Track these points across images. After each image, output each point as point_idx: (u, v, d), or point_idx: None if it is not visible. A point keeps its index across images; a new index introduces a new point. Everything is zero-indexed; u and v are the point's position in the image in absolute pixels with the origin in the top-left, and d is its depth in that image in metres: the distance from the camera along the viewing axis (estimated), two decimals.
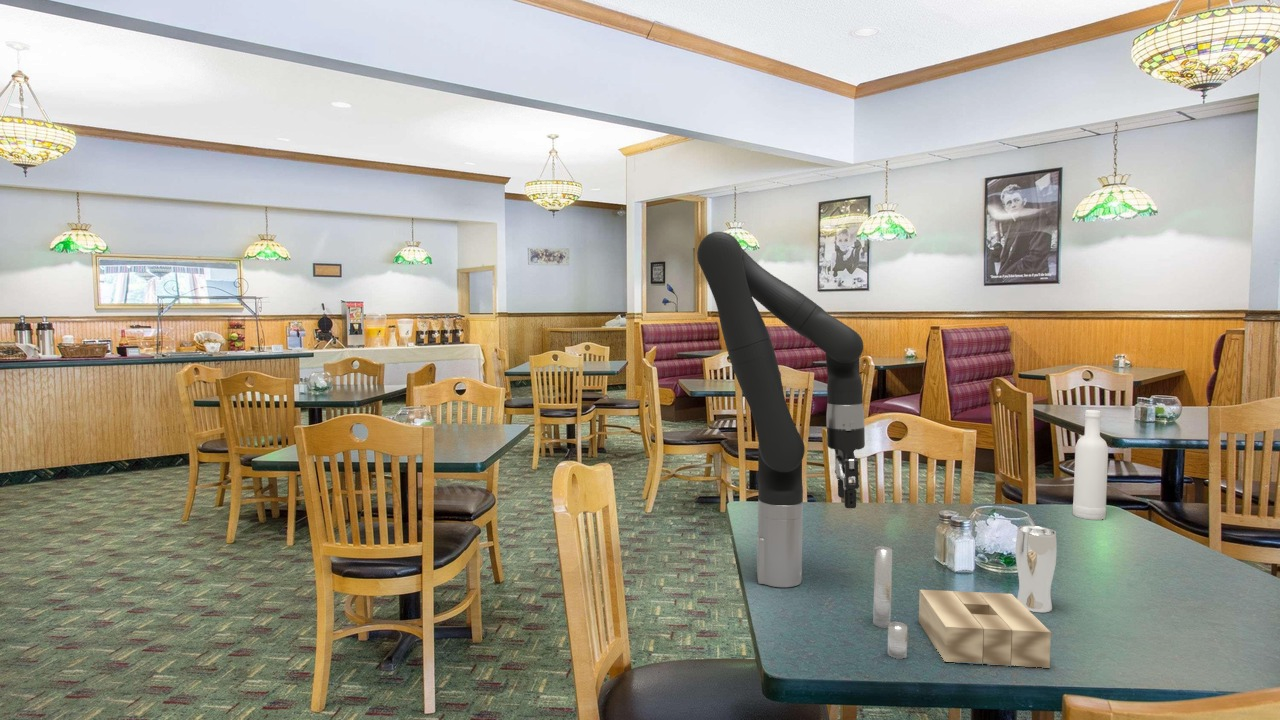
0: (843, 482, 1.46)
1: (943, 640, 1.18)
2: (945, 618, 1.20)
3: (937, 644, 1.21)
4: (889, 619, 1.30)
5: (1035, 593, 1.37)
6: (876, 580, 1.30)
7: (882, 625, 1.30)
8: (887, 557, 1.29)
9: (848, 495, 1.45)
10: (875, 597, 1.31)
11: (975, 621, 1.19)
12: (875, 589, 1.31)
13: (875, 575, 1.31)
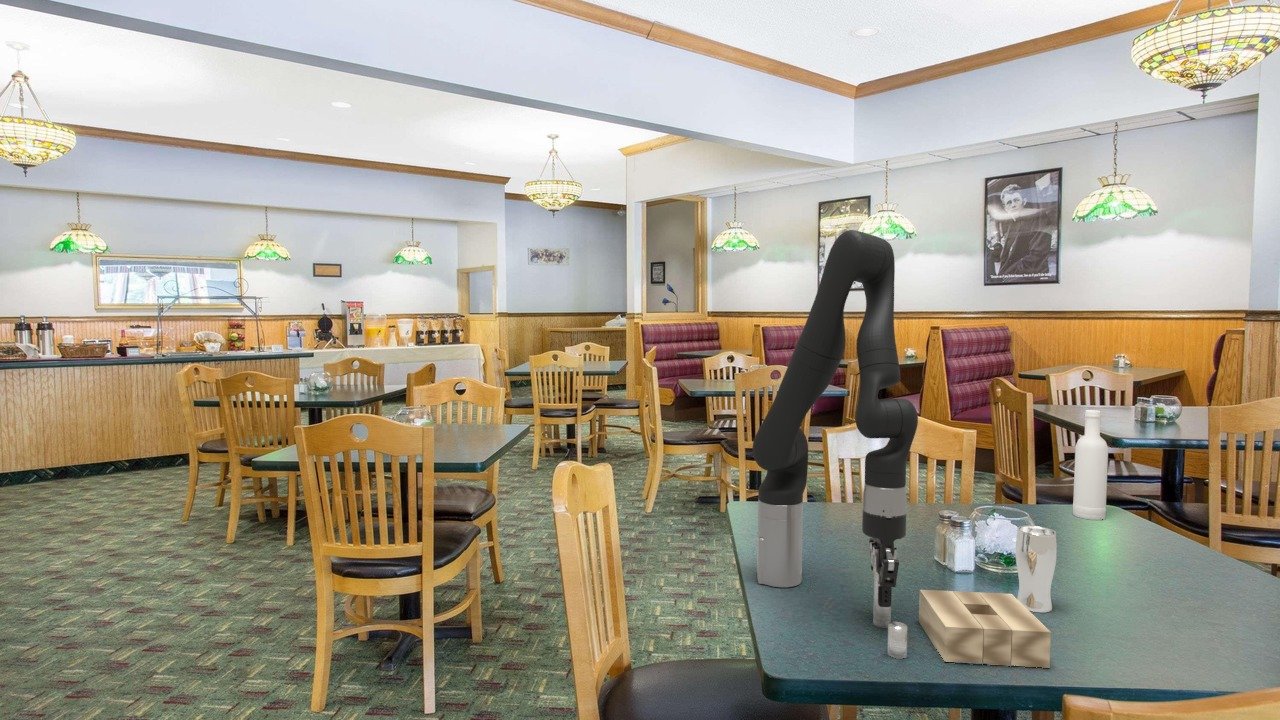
0: (878, 576, 1.29)
1: (943, 640, 1.18)
2: (945, 618, 1.20)
3: (937, 644, 1.21)
4: (889, 619, 1.30)
5: (1035, 593, 1.37)
6: (876, 580, 1.30)
7: (882, 625, 1.30)
8: None
9: (883, 593, 1.28)
10: (875, 597, 1.31)
11: (975, 621, 1.19)
12: (875, 589, 1.31)
13: (875, 575, 1.31)
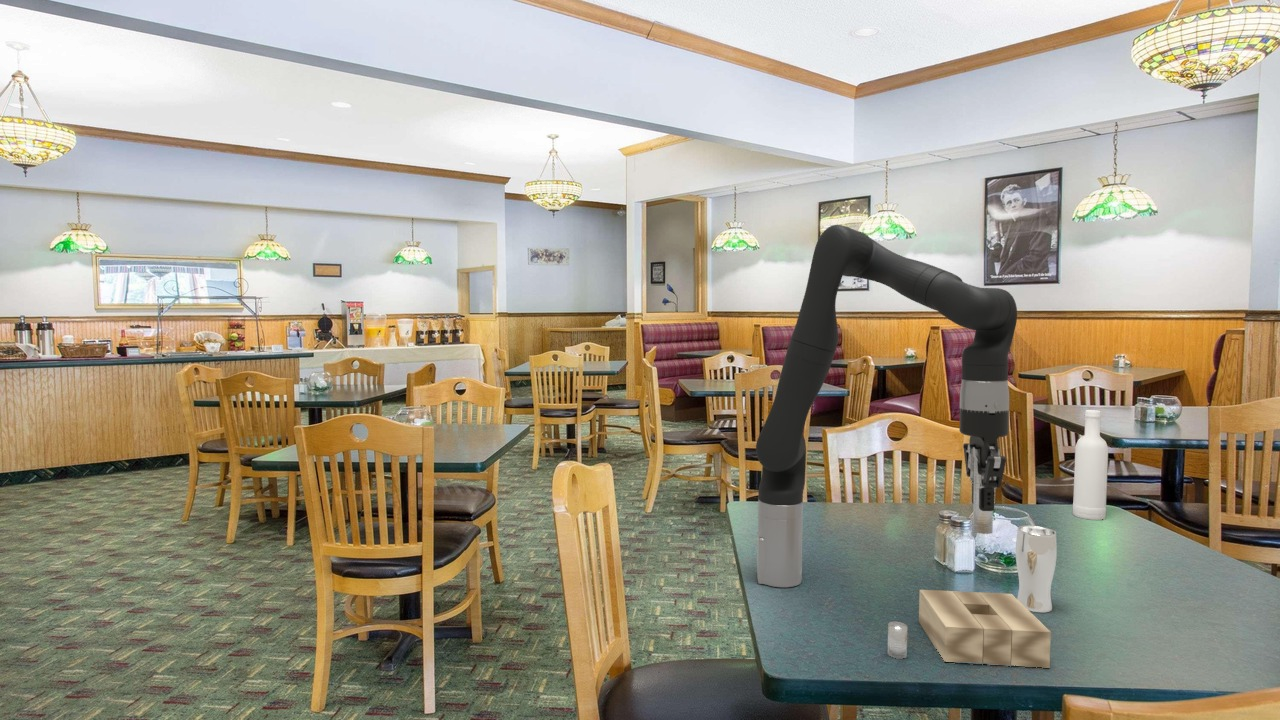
0: (979, 478, 1.21)
1: (943, 640, 1.18)
2: (945, 618, 1.20)
3: (937, 644, 1.21)
4: (991, 525, 1.22)
5: (1035, 593, 1.37)
6: (977, 483, 1.22)
7: (984, 531, 1.21)
8: None
9: (985, 495, 1.20)
10: (976, 502, 1.22)
11: (975, 621, 1.19)
12: (976, 493, 1.22)
13: (975, 478, 1.22)
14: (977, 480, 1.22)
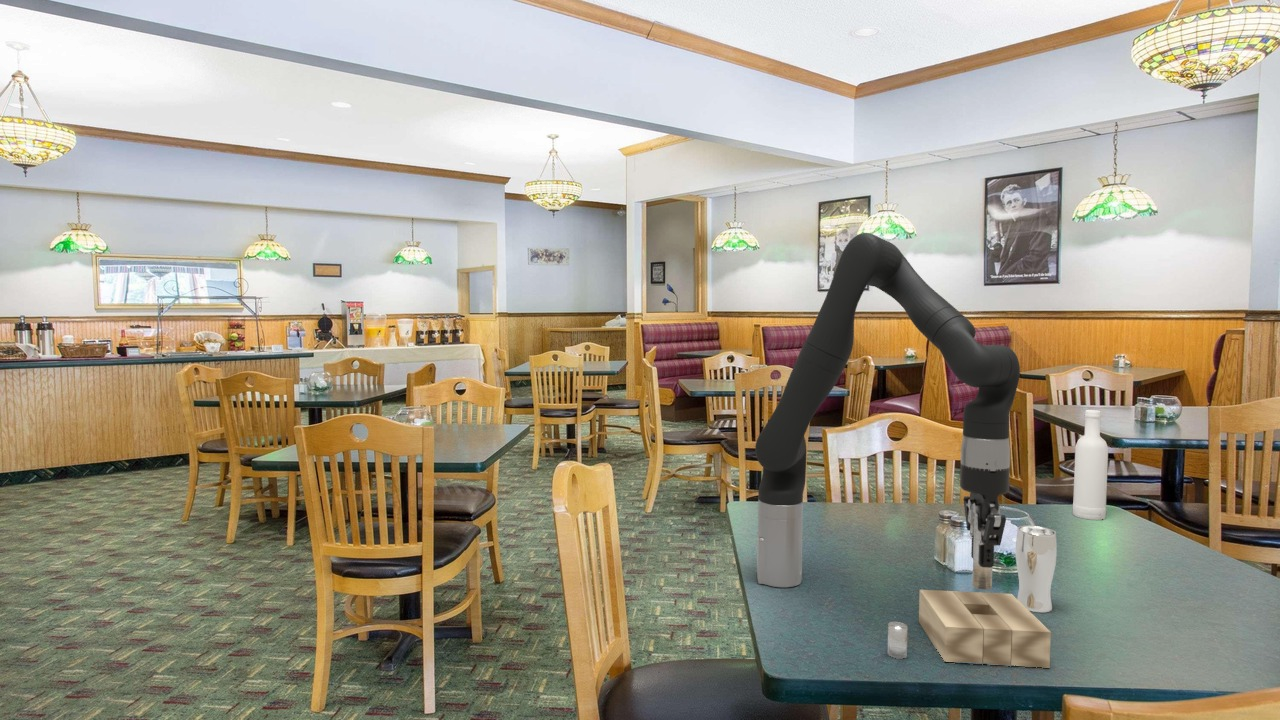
0: (979, 534, 1.21)
1: (943, 640, 1.18)
2: (945, 618, 1.20)
3: (937, 644, 1.21)
4: (991, 580, 1.22)
5: (1035, 593, 1.37)
6: (977, 539, 1.22)
7: (984, 587, 1.22)
8: None
9: (985, 552, 1.20)
10: (975, 557, 1.23)
11: (975, 621, 1.19)
12: (975, 549, 1.23)
13: (975, 534, 1.23)
14: (977, 536, 1.22)
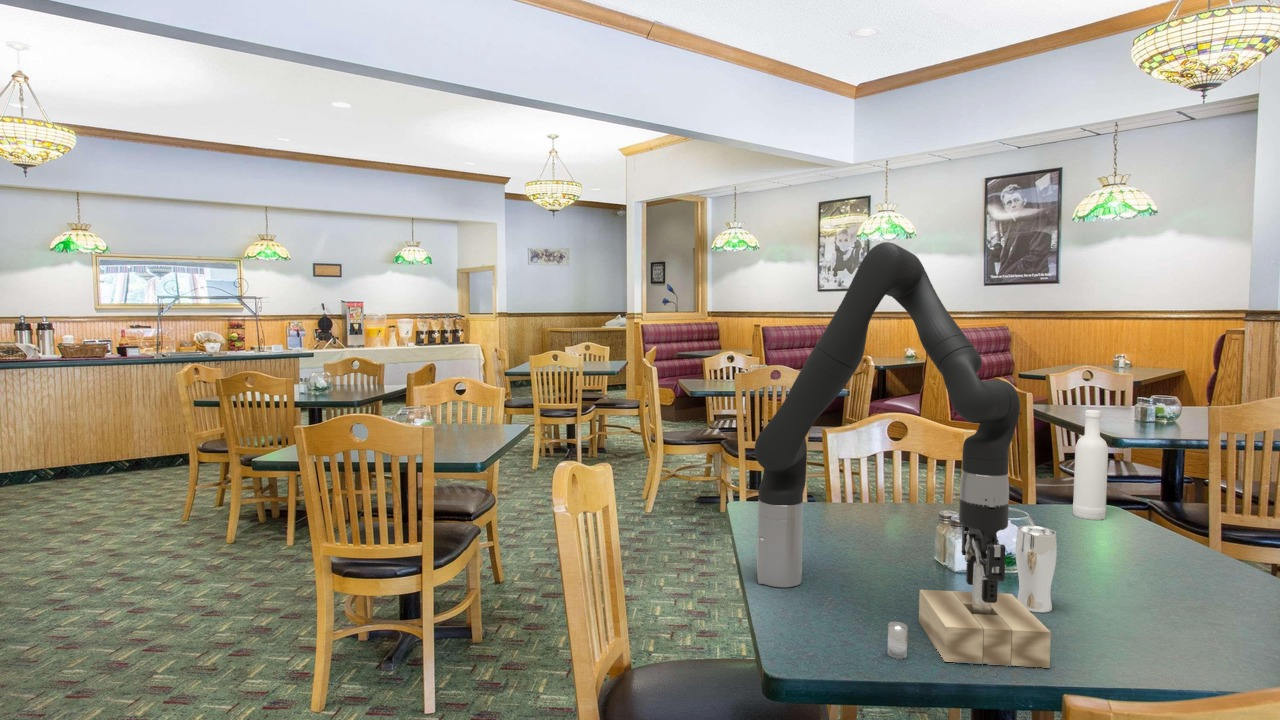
0: (981, 570, 1.20)
1: (943, 640, 1.18)
2: (945, 618, 1.20)
3: (937, 644, 1.21)
4: None
5: (1035, 593, 1.37)
6: (975, 597, 1.22)
7: None
8: None
9: (988, 587, 1.18)
10: None
11: (975, 621, 1.19)
12: (974, 607, 1.23)
13: (974, 592, 1.23)
14: (976, 594, 1.22)
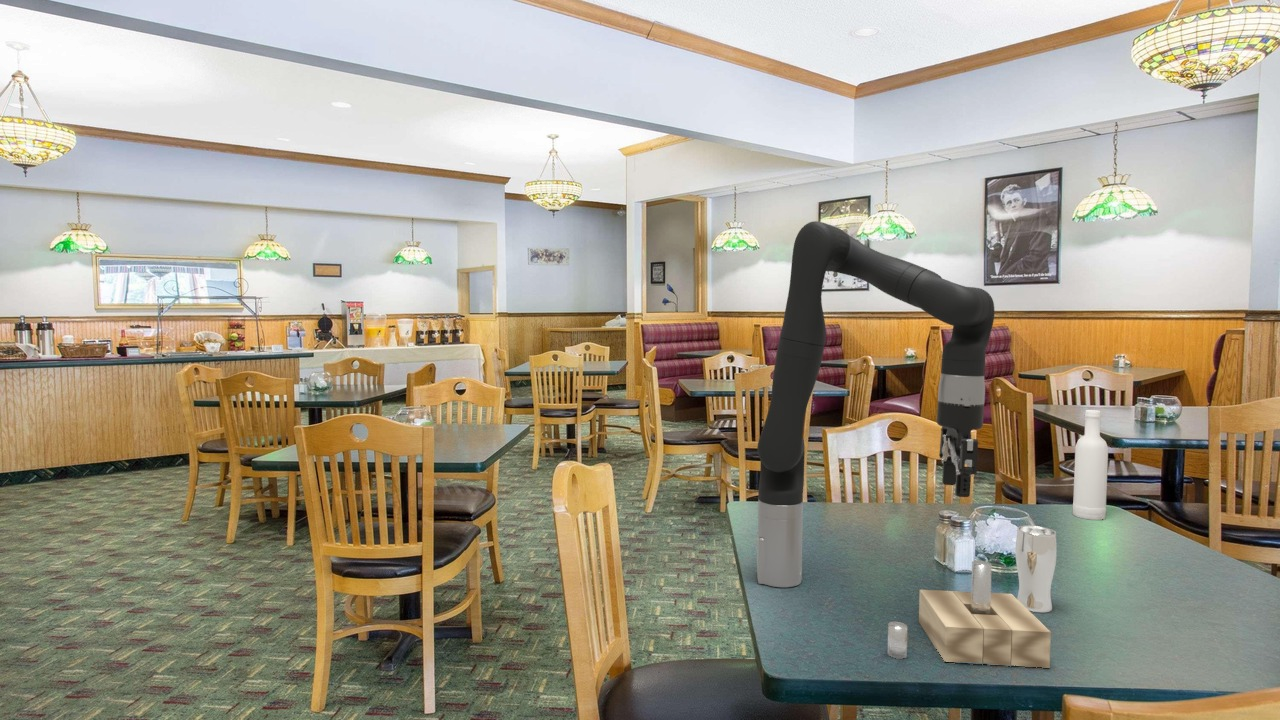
0: (956, 466, 1.25)
1: (943, 640, 1.18)
2: (945, 618, 1.20)
3: (937, 644, 1.21)
4: None
5: (1035, 593, 1.37)
6: (974, 597, 1.23)
7: None
8: (986, 573, 1.22)
9: (961, 481, 1.23)
10: None
11: (975, 621, 1.19)
12: (973, 606, 1.23)
13: (973, 592, 1.23)
14: (975, 594, 1.23)
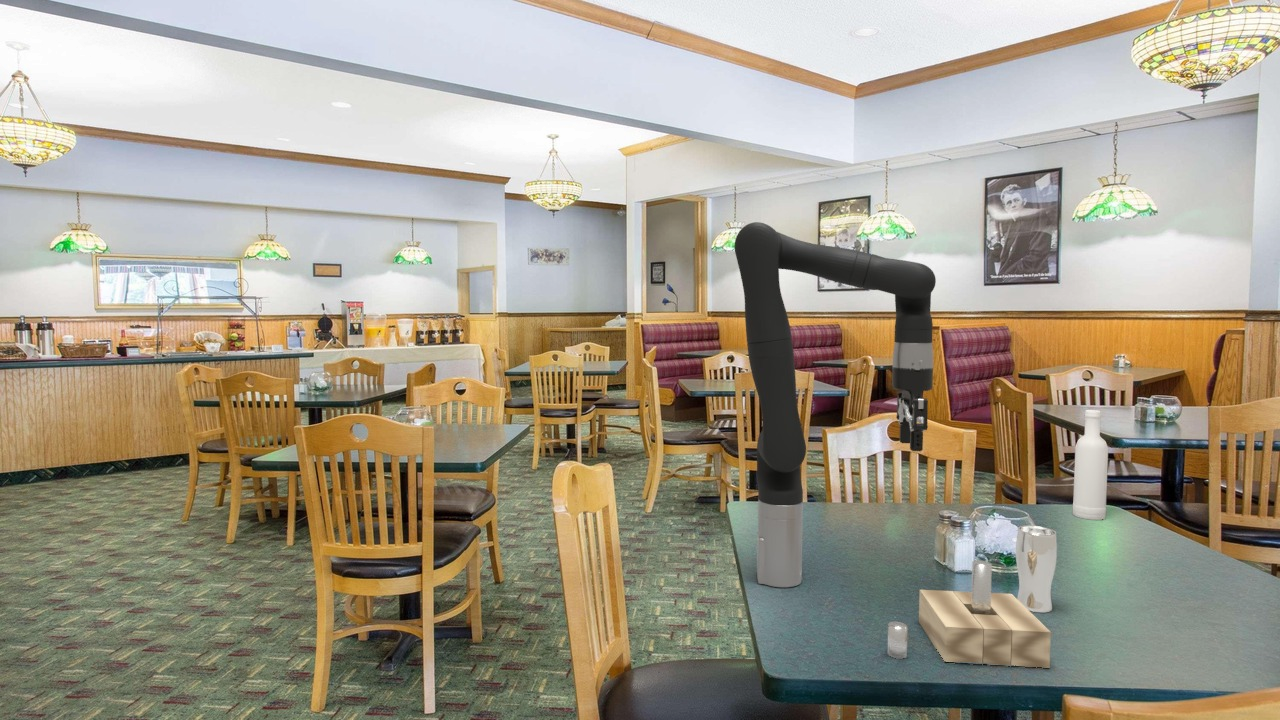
0: (909, 424, 1.40)
1: (943, 640, 1.18)
2: (945, 618, 1.20)
3: (937, 644, 1.21)
4: None
5: (1035, 593, 1.37)
6: (975, 597, 1.23)
7: None
8: (987, 573, 1.22)
9: (915, 437, 1.38)
10: None
11: (975, 621, 1.19)
12: (973, 606, 1.23)
13: (973, 591, 1.23)
14: (975, 594, 1.23)
